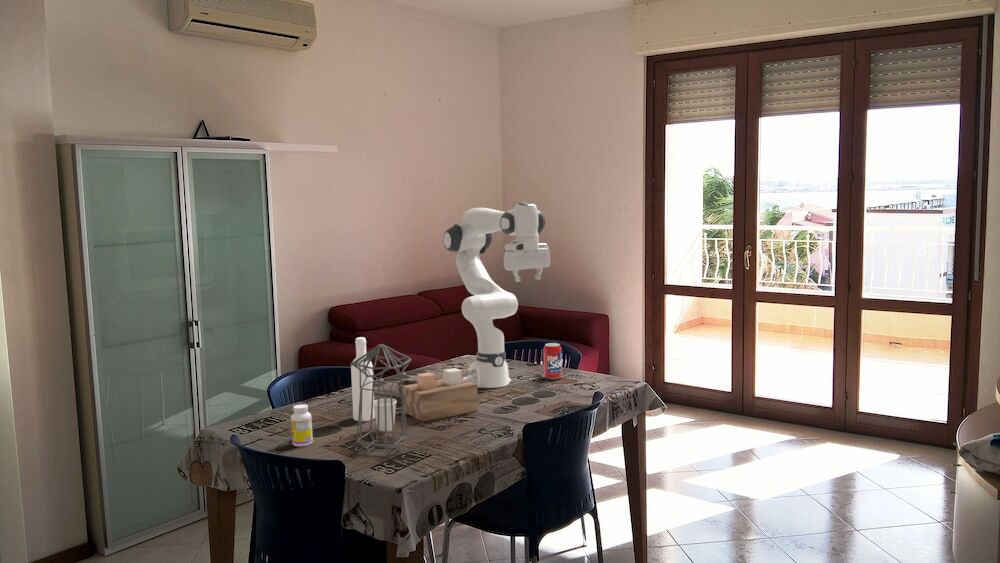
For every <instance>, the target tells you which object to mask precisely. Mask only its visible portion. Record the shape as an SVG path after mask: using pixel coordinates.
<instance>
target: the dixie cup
mask: <svg viewBox="0 0 1000 563" xmlns="http://www.w3.org/2000/svg"><path fill="white" fill-rule="evenodd" d="M397 402H398V401H397V400H396V399H395V398H392V404H393V420H394V422H395V420H396V408H397ZM373 406H374V412H375V418H374V419H375V421H376V428H377V430H378V399H374V401H373ZM386 418H387V431H391V432H392V416H391V399H390V397H386ZM379 430H381V431H385V402H384V398H380V399H379Z"/></svg>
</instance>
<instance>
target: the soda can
mask: <svg viewBox="0 0 1000 563" xmlns="http://www.w3.org/2000/svg"><path fill="white" fill-rule="evenodd" d="M562 350H563V349H562V347H561V344H560V343H558V342H557V343H556V342H550V343H545V345H544V347H543V377H544V378H545V379H547V380H552V381H553V380H558V379H560V378H562V377H563V362H562V361H563V360H562V358H563V356H562V355H563V354H562V353H563V351H562Z"/></svg>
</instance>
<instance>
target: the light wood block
mask: <svg viewBox="0 0 1000 563" xmlns="http://www.w3.org/2000/svg"><path fill="white" fill-rule="evenodd" d="M403 390H404V402H405V414H407V415H409V416H411V417H413V418H415V419H417V420H419V421H420V422H423V423H424V422H429V421H433V420H439V419H443V418H444V419H445V418H450V417H455V416H459V415H463V414H464V415H465V414H469V413H474V412H479V407H478V406H479V404H478V402H479V401H478V399H479V398H478V388H477V385H476V384H474V383H471V382H468V381H466V380H463V378H462V384H457V385H451V386H449V385H447V384H444V378H441V379H436V388H434V389H428V390H421V389H419V388H418V382H417V384H411V385H405V386H403Z"/></svg>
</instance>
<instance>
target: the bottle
mask: <svg viewBox="0 0 1000 563" xmlns="http://www.w3.org/2000/svg"><path fill="white" fill-rule="evenodd" d="M354 343H355V353H356V357H355V358H354V359H353V360H352V362H354V361H356V360H357V359H359V358H360V357H362V356H363V355H365V354H366V353H367V340H366V337H363V336H360V337H359V336H358V337H356V338H355V341H354ZM365 357H366V356H365ZM365 357H364V358H365ZM364 358H363V359H364ZM363 359H361V360H363ZM361 360H360V361H361ZM360 361H358V362H360ZM367 361H368V360H367ZM367 361H366V362H365V365H366V364H367ZM360 365H364V361H363V362H362V363H361V364H360ZM368 366H369V367H373V366H374V364H373V362H372V360H371V361H370V363H369V365H368ZM358 367H359V366H358ZM360 368H361V369H363V368H364V367H361V366H360ZM367 370H368V371H369V373H370V374H371V375H373V371H372V369H370V368H367ZM367 370H366V374H368V375H369V373H368V372H367ZM350 371H351V372H350V373H351V392H352V393H351V398H352V418H353V419H352V420H354V421H356V422H358V413H359V400H360V371H359V369H357V368H356V367H354V366H351V365H350ZM364 372H365V370H364ZM365 379H366V375H365V374H364V373H362V372H361V386H362V385H363V383H364V381H365ZM373 379H374V378H373ZM373 379H372V377H367V379H366V381H365V383H364V384H366V383H368V382H370V381H372V382H371V383H369V384H367V385H365V386H363V387H362V388H364V389H372V383H373V381H374V380H373ZM373 401H375V394H374V395H373ZM371 402H372V390H362V422H369V421H371ZM374 419H376V418H375V412H374V406H373V415H372V420H374Z"/></svg>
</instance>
